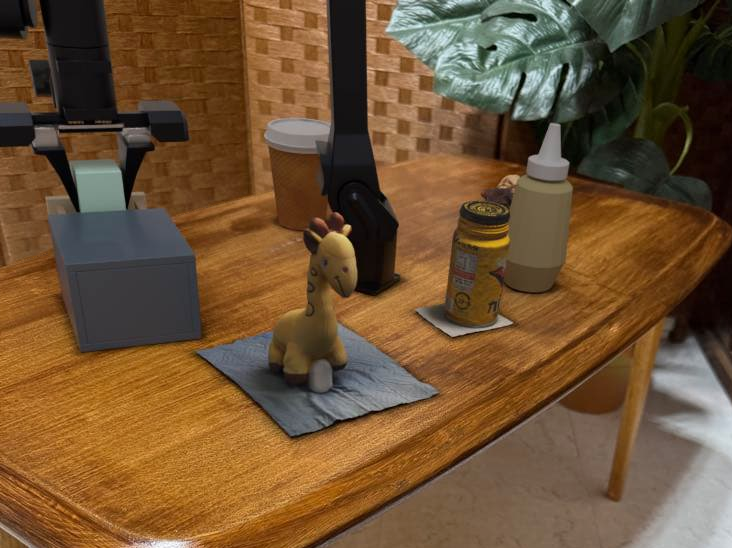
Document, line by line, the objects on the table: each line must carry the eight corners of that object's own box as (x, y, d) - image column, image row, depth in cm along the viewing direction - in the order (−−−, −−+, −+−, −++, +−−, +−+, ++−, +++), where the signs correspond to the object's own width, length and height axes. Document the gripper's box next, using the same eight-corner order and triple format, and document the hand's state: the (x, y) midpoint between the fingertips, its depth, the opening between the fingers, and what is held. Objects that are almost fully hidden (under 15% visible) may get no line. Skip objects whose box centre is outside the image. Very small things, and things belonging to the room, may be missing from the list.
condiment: (513, 324, 93) (532, 214, 86) (452, 338, 89) (466, 224, 82) (474, 299, 98) (488, 193, 91) (413, 312, 94) (423, 201, 87)
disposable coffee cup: (350, 222, 115) (354, 128, 108) (307, 240, 109) (308, 140, 101) (295, 206, 119) (295, 113, 111) (251, 222, 112) (247, 124, 105)
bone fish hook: (537, 239, 117) (552, 200, 131) (544, 205, 114) (559, 168, 128) (472, 226, 119) (494, 188, 132) (478, 192, 116) (499, 157, 129)
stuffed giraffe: (290, 437, 71) (292, 247, 62) (195, 357, 82) (186, 185, 73) (437, 399, 80) (459, 226, 71) (333, 330, 91) (340, 174, 82)
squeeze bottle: (573, 287, 103) (606, 128, 92) (534, 303, 99) (564, 138, 87) (520, 267, 107) (546, 112, 96) (481, 281, 103) (503, 120, 91)
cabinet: (62, 296, 90) (47, 214, 85) (171, 286, 94) (164, 207, 89) (80, 352, 81) (65, 264, 75) (201, 338, 85) (195, 254, 79)
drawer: (51, 243, 99) (40, 183, 95) (142, 237, 103) (135, 178, 98) (71, 302, 87) (60, 236, 83) (173, 292, 91) (167, 229, 87)
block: (120, 211, 93) (113, 158, 90) (128, 225, 90) (121, 171, 87) (77, 214, 92) (69, 160, 88) (84, 228, 89) (75, 173, 85)
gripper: (159, 30, 90) (172, 183, 99) (-34, 26, 83) (1, 191, 92) (183, 50, 82) (195, 214, 92) (-28, 48, 75) (10, 225, 85)
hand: (101, 210), depth 90 cm, fingers closed on block, 4 cm apart
